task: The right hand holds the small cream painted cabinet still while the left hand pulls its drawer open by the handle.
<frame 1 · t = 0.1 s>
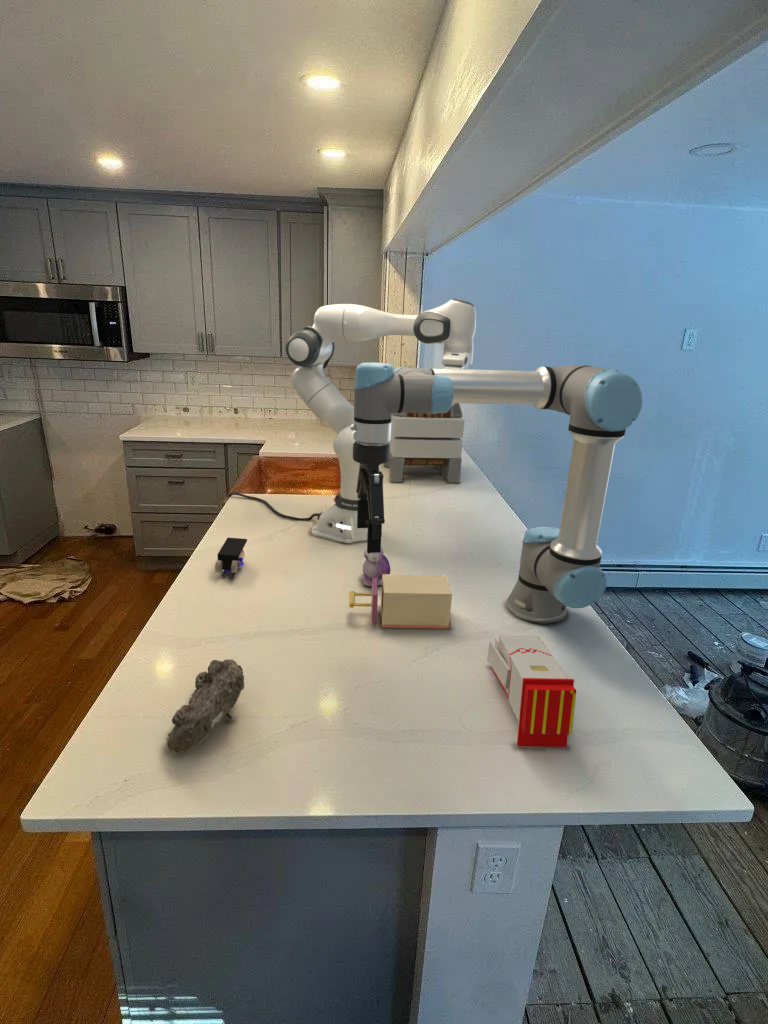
left hand: (454, 403, 174), 48 cm above the counter, tool pointing down, fingers open, 8 cm apart
right hand: (368, 539, 122), 28 cm above the counter, tool pointing down, fingers open, 13 cm apart
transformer: (419, 473, 275), on the counter
cabinet: (413, 617, 146), on the counter
toy: (522, 699, 117), on the counter
figurine character: (232, 569, 168), on the counter
drawer: (391, 600, 144), point 5 cm above the counter, slide at 1.4 cm
figurine: (375, 580, 165), on the counter
fossil: (212, 717, 108), on the counter
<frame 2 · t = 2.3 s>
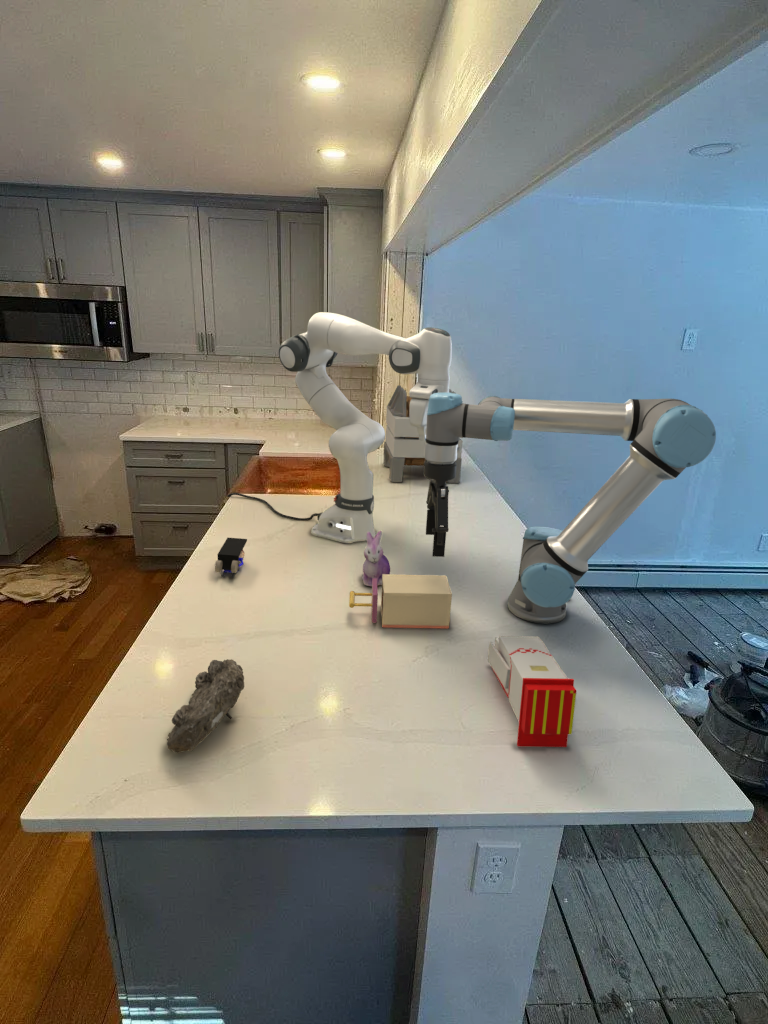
left hand: (429, 437, 163), 40 cm above the counter, tool pointing down, fingers open, 8 cm apart
right hand: (434, 544, 139), 21 cm above the counter, tool pointing down, fingers open, 13 cm apart
nothing on the counter moved.
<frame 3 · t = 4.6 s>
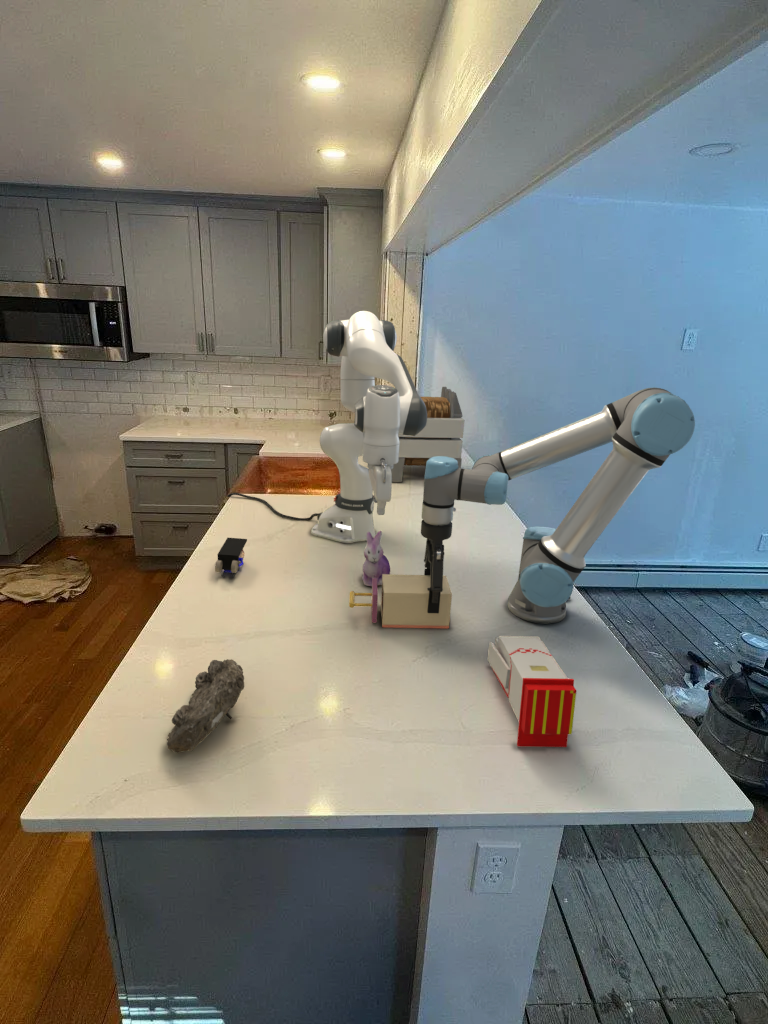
left hand: (378, 507, 143), 27 cm above the counter, tool pointing down, fingers open, 8 cm apart
right hand: (430, 601, 145), 5 cm above the counter, tool pointing down, fingers closed on cabinet, 10 cm apart
cabinet: (413, 617, 146), on the counter, touching right hand
everything else where it was.
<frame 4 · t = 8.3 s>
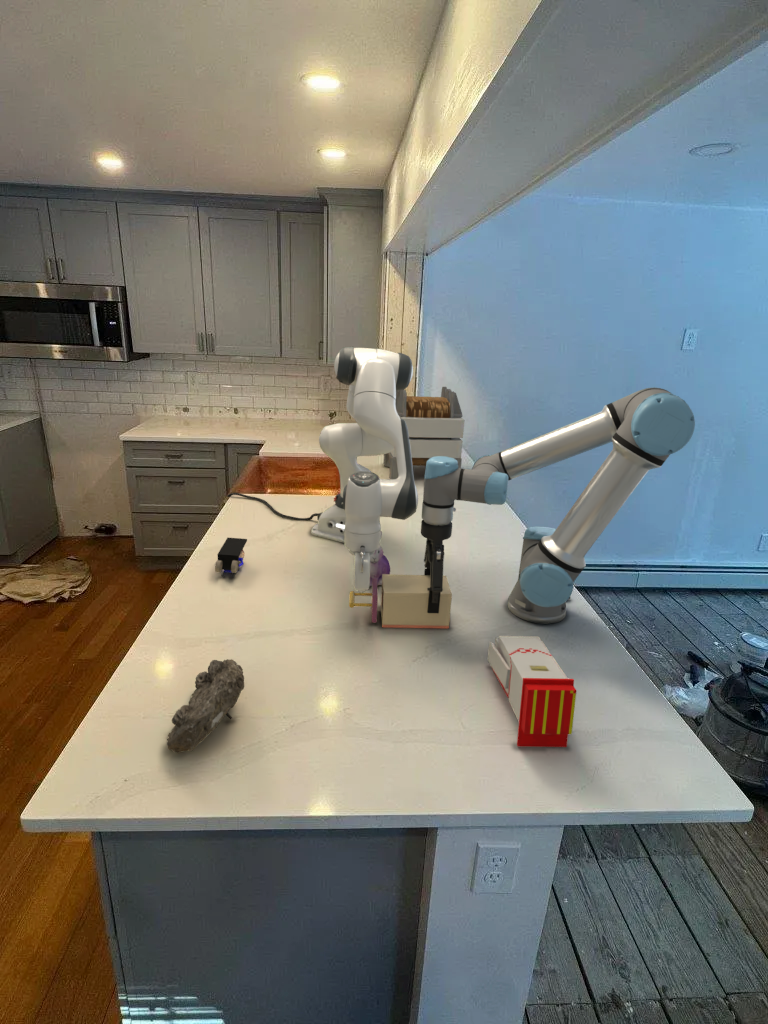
left hand: (361, 589, 143), 8 cm above the counter, tool pointing down, fingers closed
right hand: (430, 601, 145), 5 cm above the counter, tool pointing down, fingers closed on cabinet, 10 cm apart
cabinet: (413, 617, 146), on the counter, touching right hand
everything else where it was.
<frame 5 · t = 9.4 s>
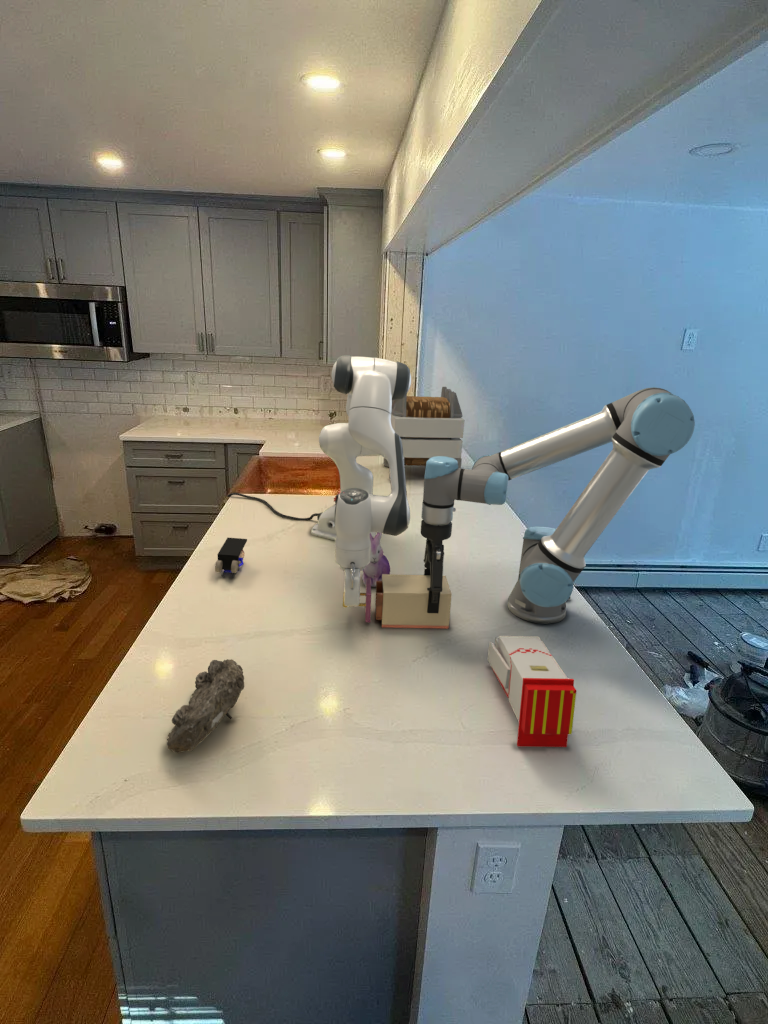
left hand: (351, 604, 144), 3 cm above the counter, tool pointing down, fingers closed, pressing on drawer
right hand: (430, 601, 145), 5 cm above the counter, tool pointing down, fingers closed on cabinet, 10 cm apart
cabinet: (413, 617, 146), on the counter, touching right hand
drawer: (384, 600, 144), point 5 cm above the counter, slide at 2.9 cm, touching left hand
everything else where it was.
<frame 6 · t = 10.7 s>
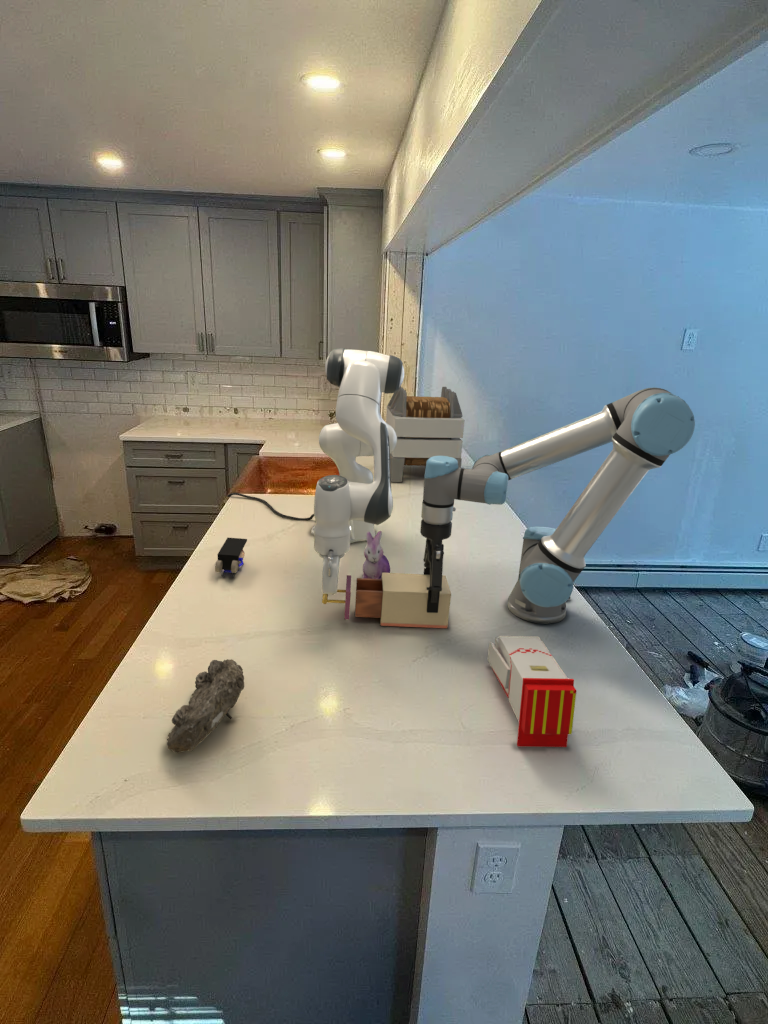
left hand: (331, 592, 143), 7 cm above the counter, tool pointing down, fingers closed
right hand: (429, 601, 145), 5 cm above the counter, tool pointing down, fingers closed on cabinet, 10 cm apart
cabinet: (412, 616, 146), on the counter, touching right hand
drawer: (364, 597, 144), point 5 cm above the counter, slide at 7.9 cm
everything else where it was.
when the right hand's fingers open (5 cm above the counter, at t = 12.0 s): cabinet stays where it is, on the counter.
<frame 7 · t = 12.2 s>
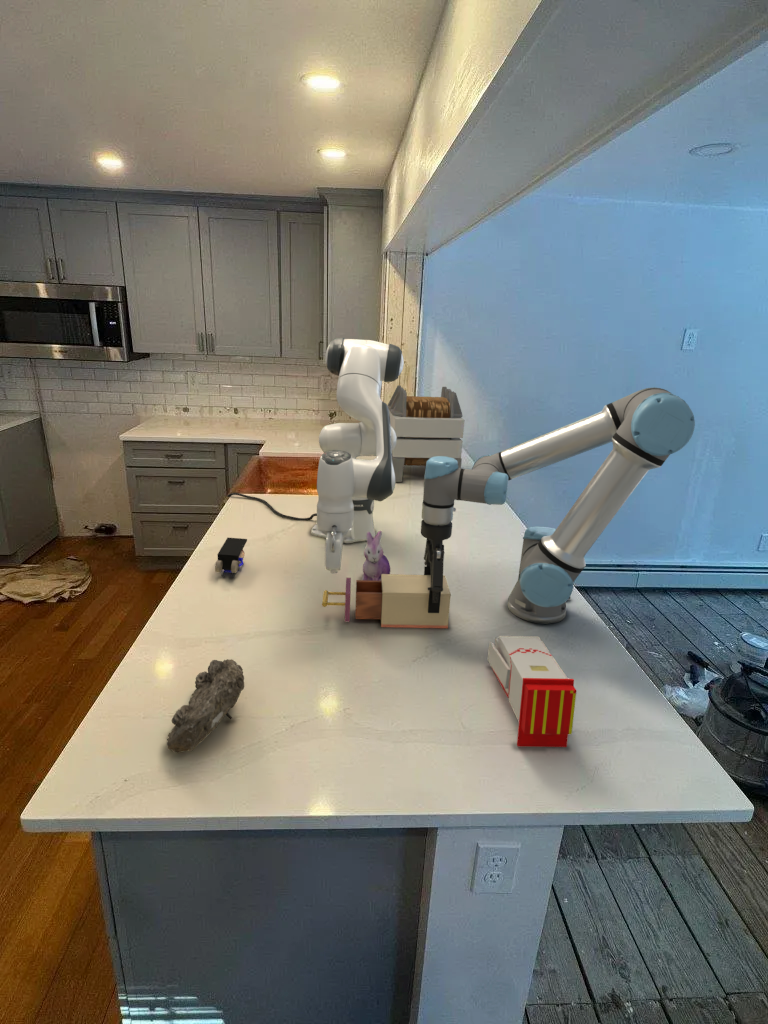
left hand: (334, 571, 141), 13 cm above the counter, tool pointing down, fingers closed
right hand: (430, 600, 145), 5 cm above the counter, tool pointing down, fingers open, 11 cm apart
cabinet: (412, 617, 146), on the counter
everything else where it was.
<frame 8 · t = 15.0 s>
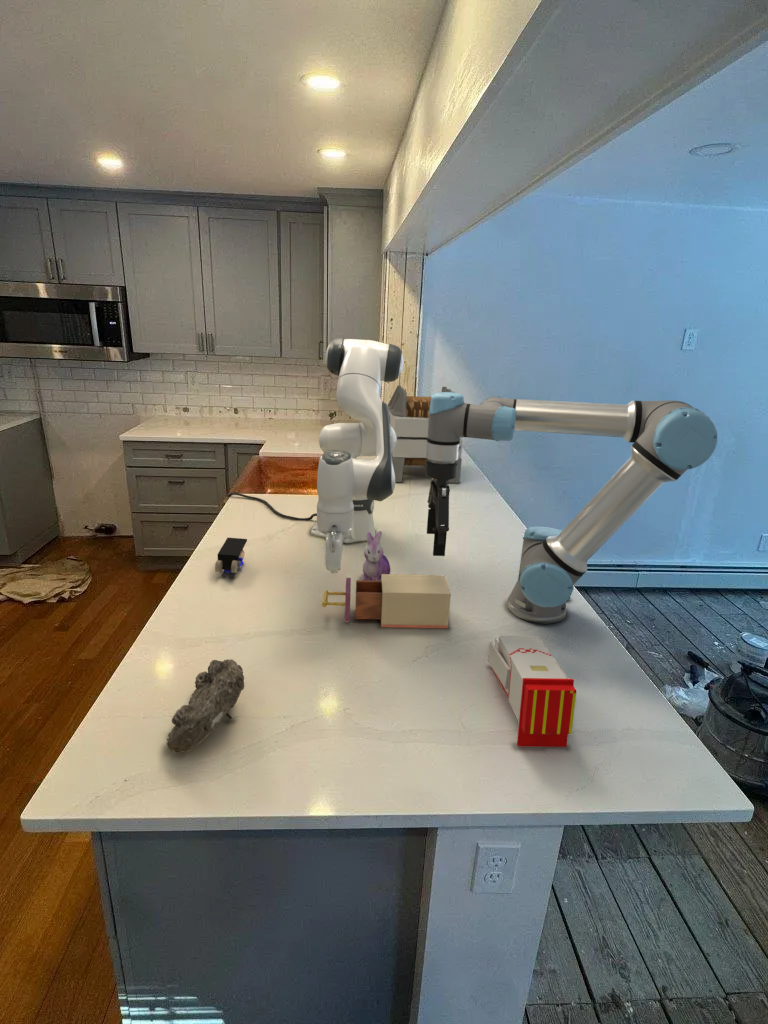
left hand: (334, 571, 141), 13 cm above the counter, tool pointing down, fingers closed
right hand: (435, 544, 139), 21 cm above the counter, tool pointing down, fingers open, 13 cm apart
nothing on the counter moved.
at the end: drawer slide at 7.9 cm; cabinet tilted 0°; cabinet never tilted more than 2° during the clip; cabinet moved 0.3 cm from its start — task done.
